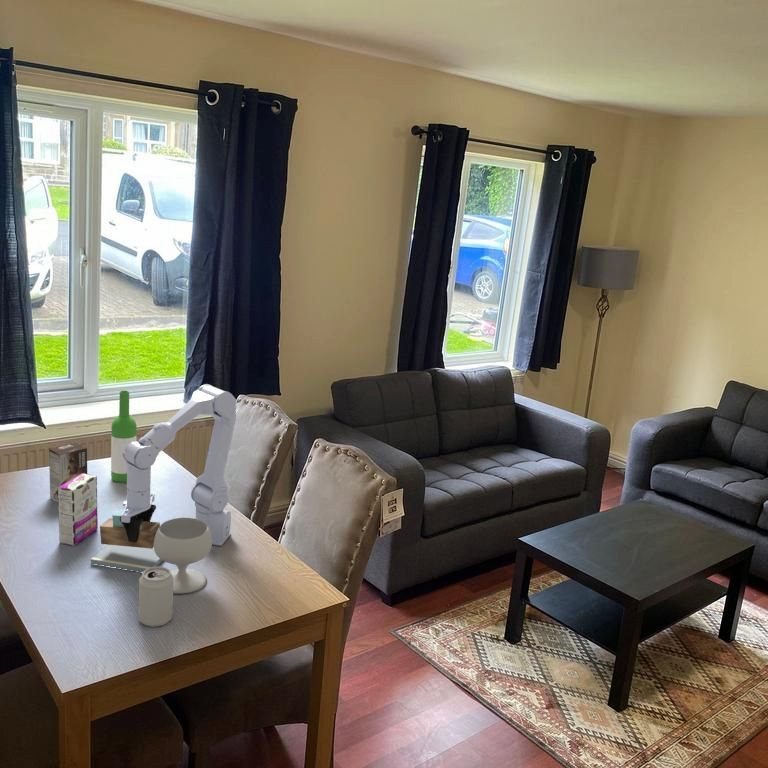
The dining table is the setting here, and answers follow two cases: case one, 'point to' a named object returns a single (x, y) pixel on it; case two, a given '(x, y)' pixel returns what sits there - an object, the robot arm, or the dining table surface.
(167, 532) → the chalice
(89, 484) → the candy bar box
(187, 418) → the robot arm
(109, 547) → the dock
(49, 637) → the dining table surface
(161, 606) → the can
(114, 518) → the teal cube block
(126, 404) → the wine bottle
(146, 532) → the tan block
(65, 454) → the coffee box
